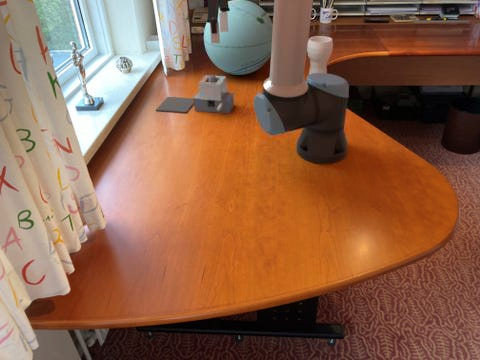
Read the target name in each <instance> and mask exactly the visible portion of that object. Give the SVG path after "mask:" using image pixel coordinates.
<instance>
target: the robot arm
mask: <svg viewBox="0 0 480 360" xmlns="http://www.w3.org/2000/svg"><path fill="white" fill-rule="evenodd" d="M228 2H229V1H228V0H208V3H207V5H208V6H207V19H206V23H210V31H211V43H220V36H219V22H218V12H219V8H220V11H222V12H219V15H220V32H228V14H227V12H226V11H230V8H228V7H229V5H228ZM313 2H314V0H274V1H273V4H274V5H273V17H272V24H273V31H272V47H271V55H270V67H269V77H267V78H266V79H265V80H264V81H263V84H262V85H263V88H262V92H258V93H257V94H255V96H254V98H253V109H254V113H255V117H256V119H257V121H258V124H259V125H260V128H261V129H262V130H263V131H264V132H265V133H266V134H267V135H270V136H277V135H285V133H289V132H293V131H297V130H300V129H301V132H300V134H299V136H298V139H297V141H296V153H297V155H298V156H299V157H300V158H302V159H304V160H305V161H308V162H310V163H315V164H322V165H323V164H333V163H337V162H340V161H342V160H343V159H344V158H346V156H348V155H347V154H348V147H349V144H348V141H347V137H346V132H345V124H346V115H347V109H348V103H349V102H348V101H349V97H350V95H349V93H350V92H349V91H350V90H349V89H350V85H349V83H348V80H346V79H345V78H344V77H341V76H339V75H336V74H331V73H328V72H327V73H313V74H310V75H309V74H308V75H307V77H306V79H304V76H305V68H306V60H307V54H308V53H307V45H308V40H309V38H310V37H309V36H310V27H311V19H312V12H313V11H312V10H313Z"/></svg>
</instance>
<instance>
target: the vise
mask: <svg viewBox="0 0 480 360" xmlns="http://www.w3.org/2000/svg"><path fill="white" fill-rule="evenodd" d="M216 76H217V75H210V76H209V77H208V80H209V82H216ZM234 96H235V95H234V92H227V93H226V94H225V96H224V97H223V99H222V100H221V101H218V100H202V99H200V96H199V91H198V92H197V93H196V94H195V95H194V96H193V97H192V98H193V99H194V104H193V106H194V112H201V113H202V112H204V113H216V114H217V113H219V114H230V113H231V111H232V110H233V108H234V106H235V102H234V101H235V100H234V99H235V98H234Z"/></svg>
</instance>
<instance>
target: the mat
mask: <svg viewBox="0 0 480 360" xmlns="http://www.w3.org/2000/svg"><path fill="white" fill-rule="evenodd" d="M193 98H194V97H176V96H167V97H166V98H165V99H164V100H163V101H162V102H161V104H159V105H158V107H157V108H156V109H155V112H163V113H175V114H187V113H188V112H189V111H190V109H191V108H192V107H193V106H194V99H193Z"/></svg>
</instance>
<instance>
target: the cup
mask: <svg viewBox="0 0 480 360" xmlns="http://www.w3.org/2000/svg"><path fill="white" fill-rule="evenodd" d="M333 49H334V41H333V38H332V37H329V36H326V35H325V36H324V35H315V36H311V37H308V45H307V53H306V54H307V57H308V59H309V65H310V66H309V71H308V75H310V74H313V73H327V74H328V70H327V69H328V68H327V65H328V61H329V59H331V58H330V57H331V55H332V53H333V51H334V50H333Z"/></svg>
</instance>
